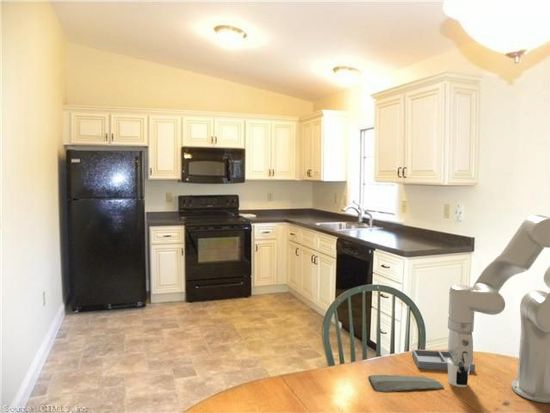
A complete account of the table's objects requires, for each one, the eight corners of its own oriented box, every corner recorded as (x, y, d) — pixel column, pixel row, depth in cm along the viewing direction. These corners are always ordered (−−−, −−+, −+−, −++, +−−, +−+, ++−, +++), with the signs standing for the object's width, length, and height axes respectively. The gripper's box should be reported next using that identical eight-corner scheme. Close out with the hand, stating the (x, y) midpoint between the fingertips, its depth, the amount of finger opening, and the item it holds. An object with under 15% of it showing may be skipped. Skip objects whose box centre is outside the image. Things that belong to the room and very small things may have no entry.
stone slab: (366, 381, 138) (376, 394, 128) (366, 373, 138) (376, 384, 128) (431, 380, 140) (446, 392, 130) (431, 372, 140) (446, 383, 130)
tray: (412, 355, 153) (412, 349, 153) (464, 358, 151) (465, 352, 151) (418, 368, 144) (418, 361, 143) (474, 371, 142) (475, 364, 142)
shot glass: (471, 381, 135) (472, 360, 135) (467, 390, 130) (468, 368, 129) (448, 375, 139) (449, 355, 138) (444, 384, 133) (445, 363, 133)
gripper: (483, 336, 124) (480, 393, 125) (463, 315, 141) (460, 366, 142) (457, 334, 124) (454, 392, 126) (440, 314, 141) (438, 365, 143)
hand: (457, 377), depth 134 cm, fingers closed on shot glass, 6 cm apart
